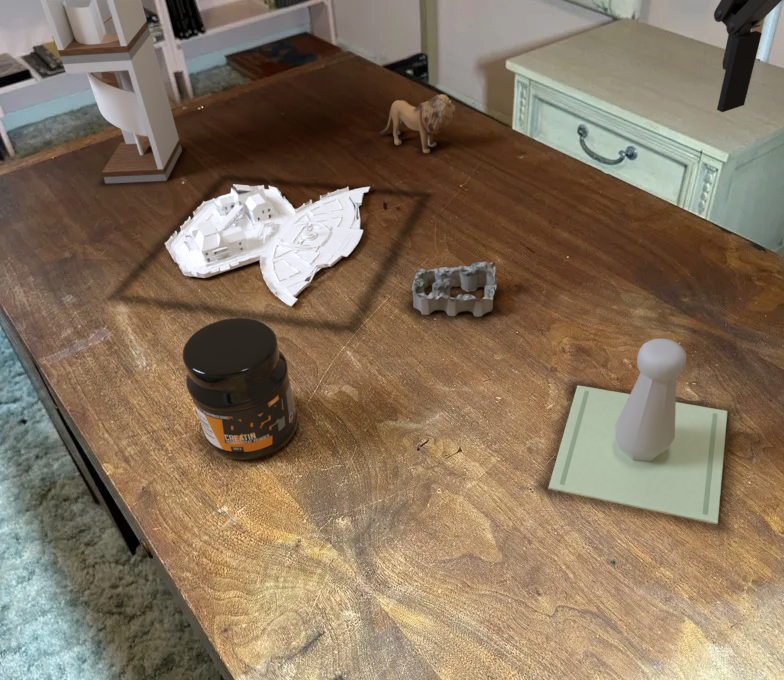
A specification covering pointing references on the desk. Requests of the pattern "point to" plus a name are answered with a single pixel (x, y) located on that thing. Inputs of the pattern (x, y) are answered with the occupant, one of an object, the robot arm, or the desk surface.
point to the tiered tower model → (120, 81)
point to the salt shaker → (651, 401)
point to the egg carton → (457, 276)
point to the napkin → (642, 478)
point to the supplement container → (240, 388)
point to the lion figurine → (421, 118)
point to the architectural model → (269, 236)
